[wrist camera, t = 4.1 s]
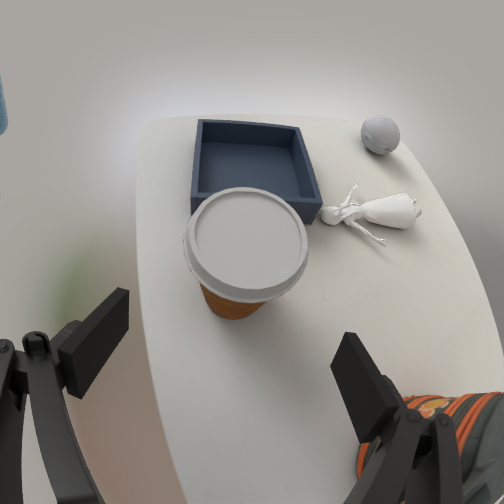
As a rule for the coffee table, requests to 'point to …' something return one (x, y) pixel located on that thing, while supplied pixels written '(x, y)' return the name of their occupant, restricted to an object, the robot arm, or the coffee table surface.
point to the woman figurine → (374, 213)
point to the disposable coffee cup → (244, 249)
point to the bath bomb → (380, 134)
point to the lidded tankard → (465, 441)
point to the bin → (254, 163)
